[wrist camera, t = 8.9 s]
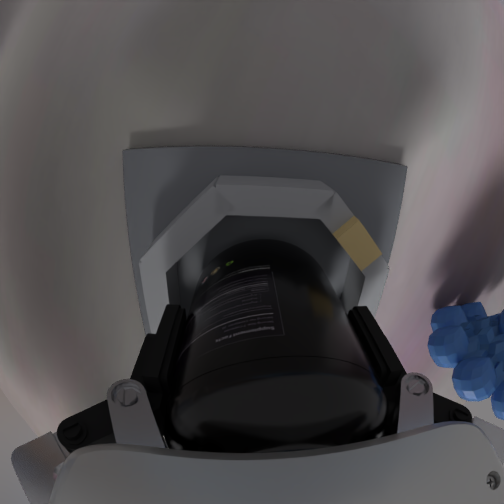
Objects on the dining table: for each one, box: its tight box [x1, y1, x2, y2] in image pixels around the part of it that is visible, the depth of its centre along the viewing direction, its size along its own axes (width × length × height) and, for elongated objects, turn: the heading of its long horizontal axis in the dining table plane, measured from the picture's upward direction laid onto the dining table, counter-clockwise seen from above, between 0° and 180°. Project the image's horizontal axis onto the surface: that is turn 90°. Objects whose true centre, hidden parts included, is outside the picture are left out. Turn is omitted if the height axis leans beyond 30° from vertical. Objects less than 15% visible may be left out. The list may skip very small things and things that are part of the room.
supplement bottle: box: [163, 239, 389, 453], centre depth 9 cm, size 7×7×12 cm
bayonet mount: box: [123, 146, 407, 335], centre depth 14 cm, size 14×14×4 cm
